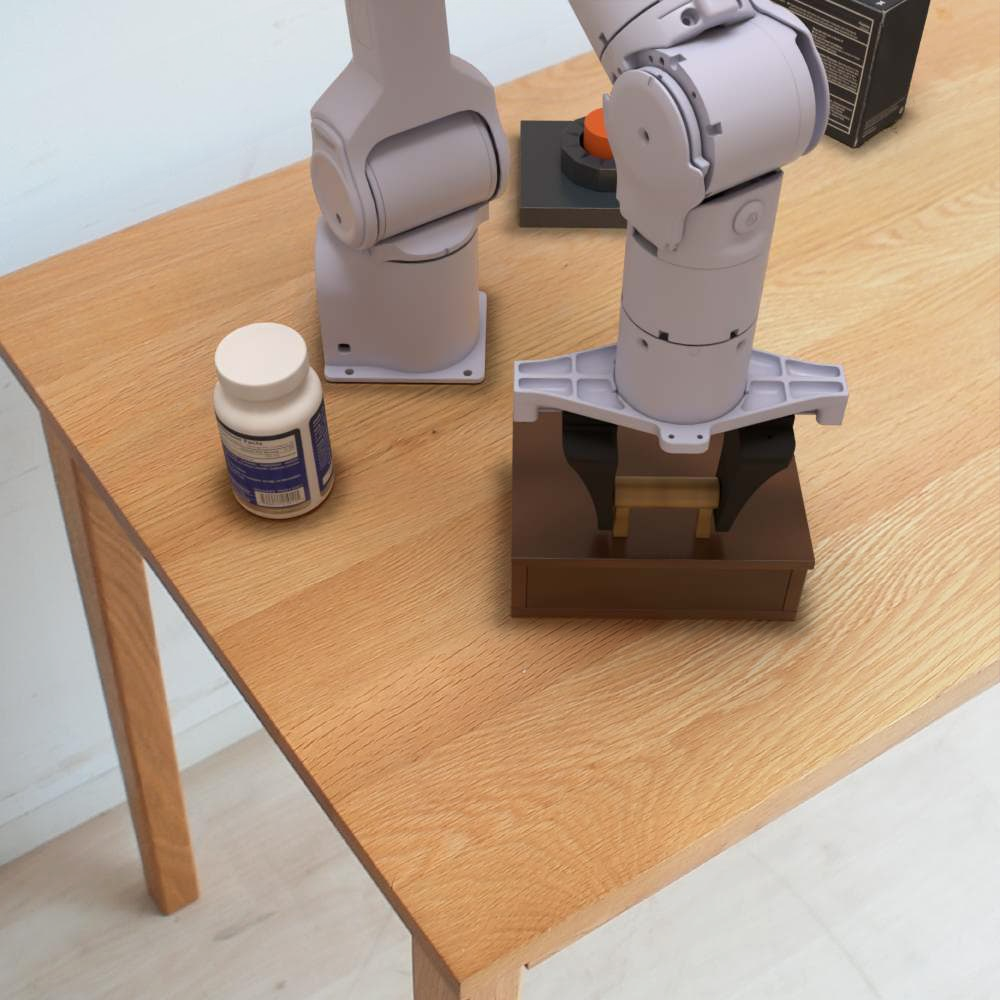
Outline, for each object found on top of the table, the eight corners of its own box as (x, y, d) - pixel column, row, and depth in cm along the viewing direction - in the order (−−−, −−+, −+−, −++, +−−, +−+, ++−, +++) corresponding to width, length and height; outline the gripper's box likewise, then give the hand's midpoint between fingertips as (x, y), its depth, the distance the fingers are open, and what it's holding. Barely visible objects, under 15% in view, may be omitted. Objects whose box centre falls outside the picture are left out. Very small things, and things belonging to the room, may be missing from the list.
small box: (909, 115, 104) (942, -21, 96) (855, 151, 101) (885, 14, 93) (792, 57, 109) (815, -76, 101) (737, 91, 106) (756, -44, 98)
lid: (813, 570, 70) (827, 509, 67) (511, 566, 70) (511, 506, 67) (784, 421, 77) (795, 361, 75) (512, 418, 78) (513, 358, 75)
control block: (519, 228, 95) (520, 184, 93) (520, 140, 102) (520, 97, 99) (701, 230, 95) (707, 186, 93) (690, 142, 102) (695, 98, 99)
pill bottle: (283, 432, 83) (262, 299, 75) (356, 479, 80) (341, 346, 73) (210, 489, 80) (180, 357, 73) (283, 540, 78) (260, 408, 70)
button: (583, 160, 95) (585, 137, 94) (582, 129, 98) (583, 106, 96) (638, 161, 95) (640, 138, 94) (635, 129, 97) (637, 107, 96)
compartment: (795, 620, 74) (808, 568, 71) (510, 617, 74) (511, 564, 71) (773, 475, 81) (784, 421, 77) (512, 473, 81) (512, 418, 78)
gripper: (513, 364, 57) (511, 578, 67) (881, 368, 57) (823, 582, 67) (515, 251, 62) (512, 467, 72) (854, 254, 62) (804, 470, 72)
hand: (661, 515), depth 70 cm, fingers closed on lid, 5 cm apart
